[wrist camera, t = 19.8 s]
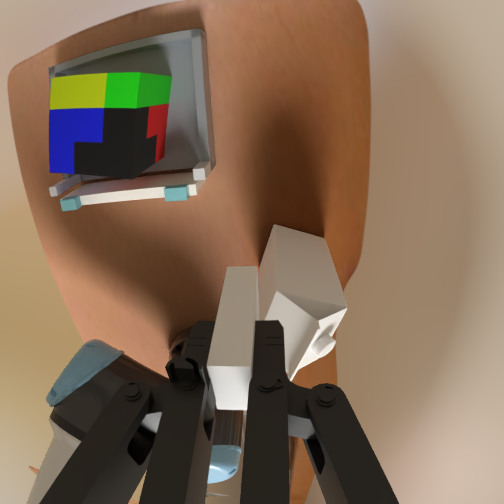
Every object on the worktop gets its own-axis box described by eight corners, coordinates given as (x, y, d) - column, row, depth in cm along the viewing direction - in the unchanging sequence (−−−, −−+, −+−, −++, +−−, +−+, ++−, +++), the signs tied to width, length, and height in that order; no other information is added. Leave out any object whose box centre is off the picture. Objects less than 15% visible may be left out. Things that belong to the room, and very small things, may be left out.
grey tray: (215, 164, 38) (205, 179, 31) (78, 180, 39) (50, 196, 33) (206, 33, 30) (192, 21, 24) (63, 68, 31) (31, 68, 25)
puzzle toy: (93, 151, 36) (50, 172, 27) (98, 76, 31) (51, 77, 22) (164, 157, 36) (132, 179, 28) (172, 76, 32) (140, 72, 23)
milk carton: (258, 268, 44) (252, 375, 28) (273, 222, 41) (277, 319, 24) (306, 280, 45) (323, 387, 28) (324, 237, 42) (357, 336, 25)
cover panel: (206, 180, 39) (194, 199, 32) (84, 193, 40) (57, 212, 33) (205, 170, 38) (193, 186, 32) (82, 183, 39) (54, 201, 33)
